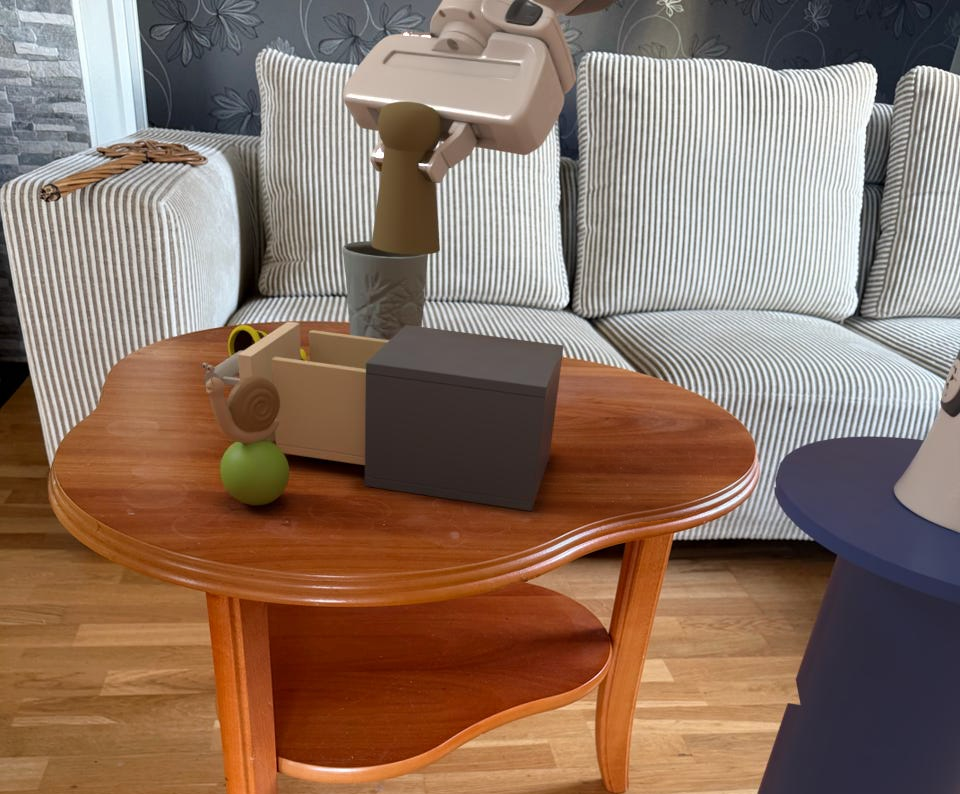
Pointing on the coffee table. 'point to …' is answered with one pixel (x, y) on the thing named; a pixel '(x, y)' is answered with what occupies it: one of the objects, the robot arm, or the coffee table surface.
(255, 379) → the snail figurine
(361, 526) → the coffee table surface
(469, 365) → the cabinet
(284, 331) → the drawer
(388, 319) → the grey embossed cup
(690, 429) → the coffee table surface
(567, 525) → the coffee table surface
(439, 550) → the coffee table surface
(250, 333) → the opera glasses
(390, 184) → the cork
